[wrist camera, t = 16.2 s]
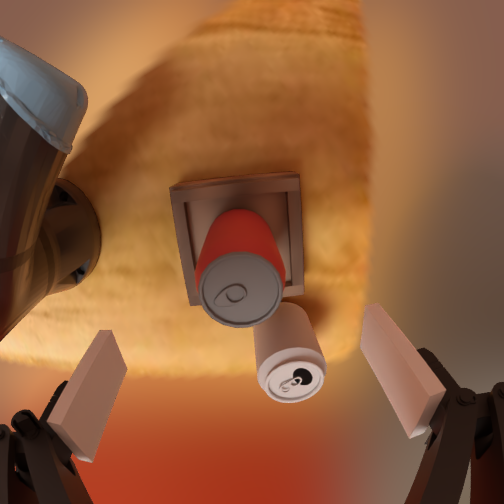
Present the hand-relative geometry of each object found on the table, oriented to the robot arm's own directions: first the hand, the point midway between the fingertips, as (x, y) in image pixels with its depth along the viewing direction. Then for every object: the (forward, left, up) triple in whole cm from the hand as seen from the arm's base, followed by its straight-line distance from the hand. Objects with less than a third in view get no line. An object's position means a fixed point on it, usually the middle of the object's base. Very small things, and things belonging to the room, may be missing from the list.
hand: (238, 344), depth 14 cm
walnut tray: (0, 0, -21) cm, 21 cm away
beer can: (0, 0, -17) cm, 17 cm away
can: (+4, -13, -21) cm, 25 cm away
